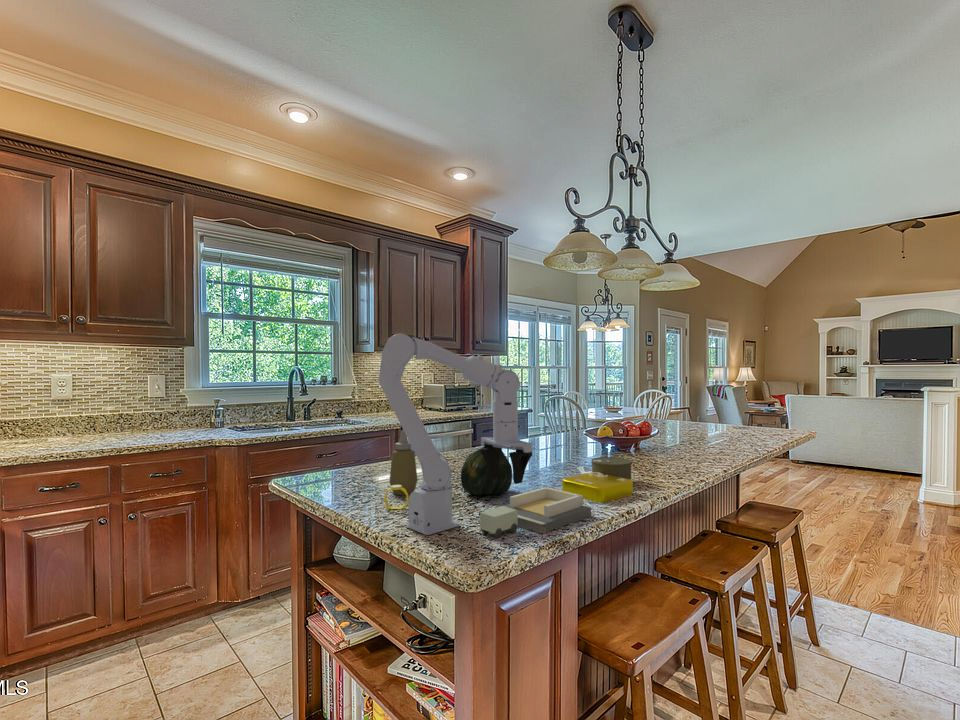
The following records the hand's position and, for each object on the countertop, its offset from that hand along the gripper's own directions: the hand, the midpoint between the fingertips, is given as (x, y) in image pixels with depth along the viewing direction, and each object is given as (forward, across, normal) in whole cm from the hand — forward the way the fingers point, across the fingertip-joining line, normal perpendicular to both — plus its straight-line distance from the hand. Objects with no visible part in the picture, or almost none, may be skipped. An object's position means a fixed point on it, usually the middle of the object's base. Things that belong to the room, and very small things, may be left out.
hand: (505, 480), depth 109 cm
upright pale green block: (+10, -4, +6) cm, 12 cm away
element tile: (+10, -1, -37) cm, 38 cm away
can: (+10, +3, -51) cm, 52 cm away
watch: (+10, +27, +12) cm, 31 cm away
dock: (+10, -3, -8) cm, 13 cm away
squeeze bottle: (+10, +39, +2) cm, 40 cm away
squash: (+10, +22, -15) cm, 28 cm away
